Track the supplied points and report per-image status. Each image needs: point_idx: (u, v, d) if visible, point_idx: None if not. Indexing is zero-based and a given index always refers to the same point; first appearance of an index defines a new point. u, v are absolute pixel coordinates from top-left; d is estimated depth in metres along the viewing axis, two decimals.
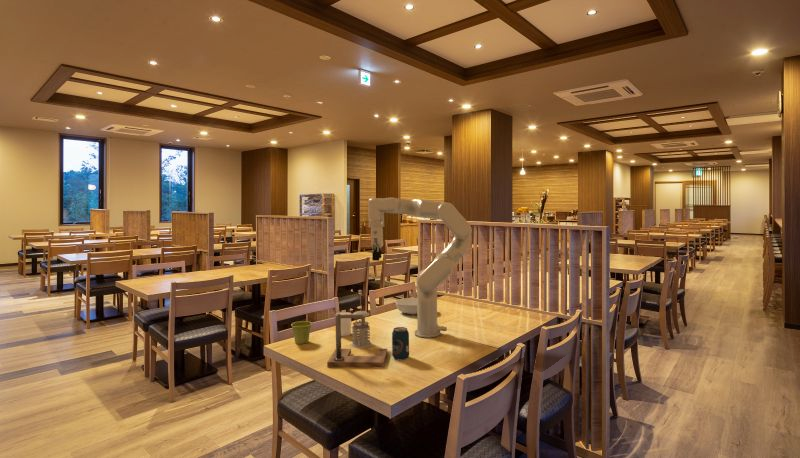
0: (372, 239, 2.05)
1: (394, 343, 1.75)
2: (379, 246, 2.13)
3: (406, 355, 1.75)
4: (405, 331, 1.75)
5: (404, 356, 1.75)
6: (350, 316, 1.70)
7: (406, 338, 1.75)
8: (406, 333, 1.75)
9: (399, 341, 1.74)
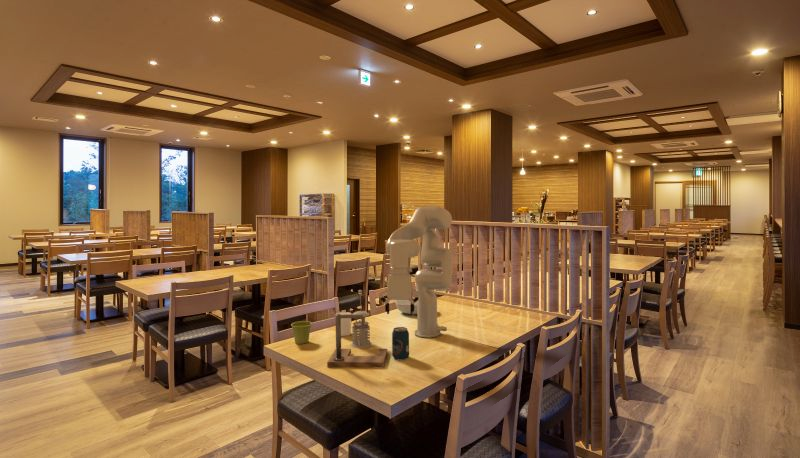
0: (411, 289, 1.75)
1: (394, 343, 1.75)
2: None
3: (406, 355, 1.75)
4: (405, 331, 1.75)
5: (404, 356, 1.75)
6: (350, 316, 1.70)
7: (406, 338, 1.75)
8: (406, 333, 1.75)
9: (399, 341, 1.74)
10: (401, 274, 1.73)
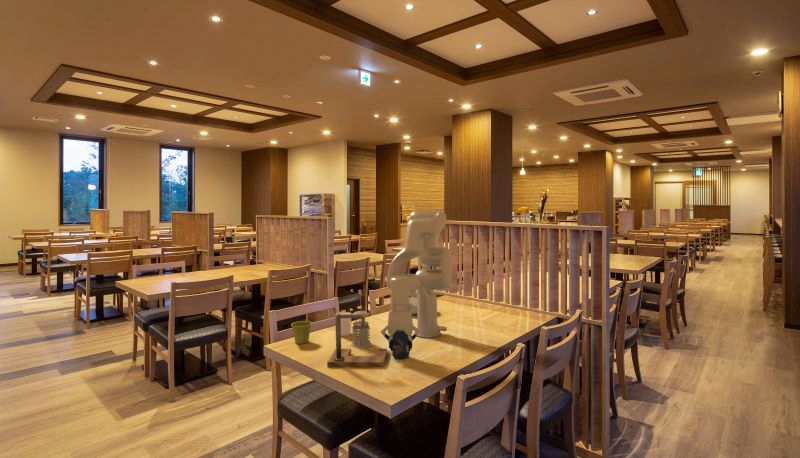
0: (412, 325, 1.76)
1: (394, 343, 1.75)
2: None
3: (406, 355, 1.75)
4: None
5: (404, 356, 1.75)
6: (350, 316, 1.70)
7: (406, 338, 1.75)
8: None
9: (399, 341, 1.74)
10: (402, 310, 1.73)
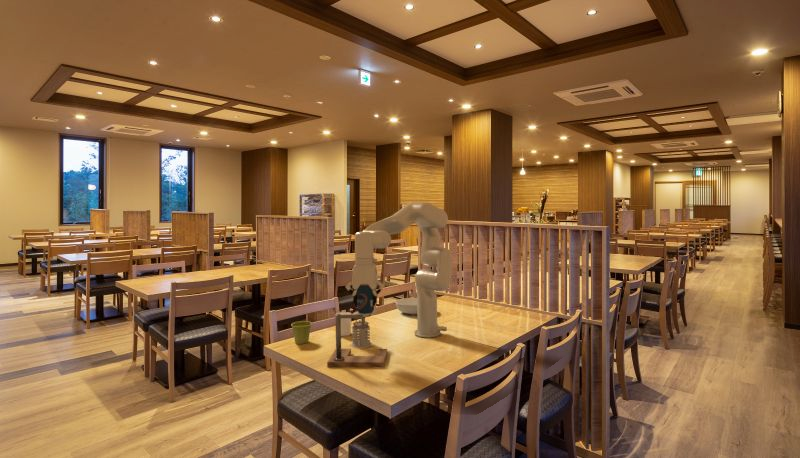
0: (376, 279, 1.76)
1: (358, 297, 1.75)
2: None
3: (370, 309, 1.76)
4: None
5: (368, 310, 1.75)
6: (350, 316, 1.70)
7: (370, 292, 1.75)
8: None
9: (363, 295, 1.74)
10: (366, 264, 1.74)
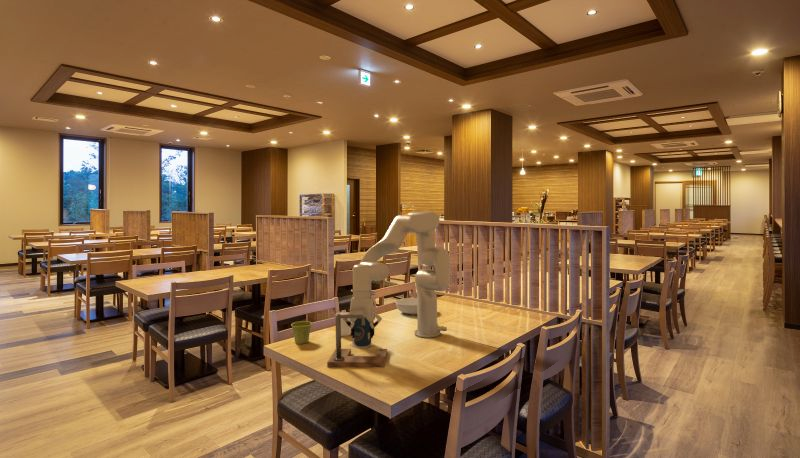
0: (373, 312, 1.77)
1: (356, 330, 1.76)
2: None
3: (368, 342, 1.76)
4: None
5: (365, 343, 1.76)
6: (350, 316, 1.70)
7: (368, 325, 1.76)
8: None
9: (361, 328, 1.75)
10: (363, 297, 1.74)
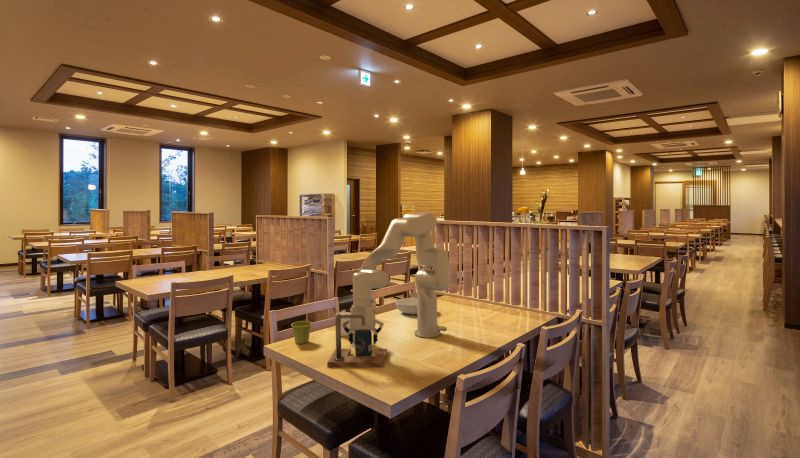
0: (374, 320, 1.77)
1: (356, 342, 1.77)
2: None
3: (368, 354, 1.77)
4: (367, 331, 1.77)
5: (366, 355, 1.76)
6: (350, 316, 1.70)
7: (368, 337, 1.77)
8: (368, 333, 1.77)
9: (361, 341, 1.76)
10: (363, 305, 1.75)
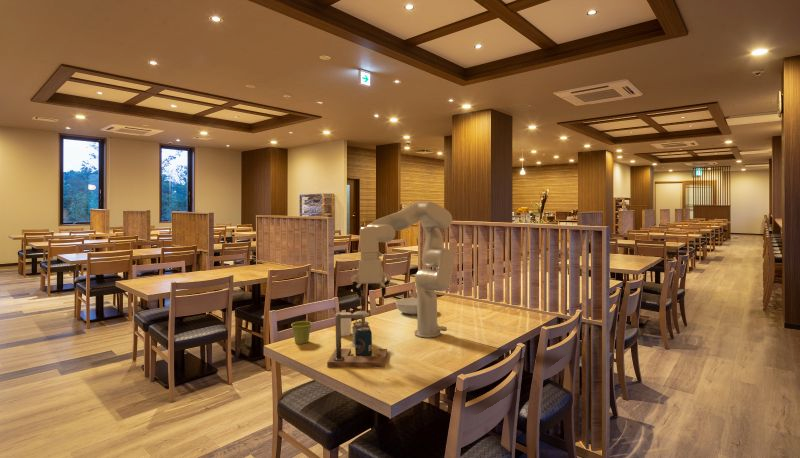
0: (381, 273, 1.79)
1: (356, 342, 1.77)
2: None
3: (368, 354, 1.77)
4: (367, 331, 1.77)
5: (366, 355, 1.76)
6: (350, 316, 1.70)
7: (368, 338, 1.77)
8: (368, 333, 1.77)
9: (361, 341, 1.76)
10: (371, 258, 1.76)
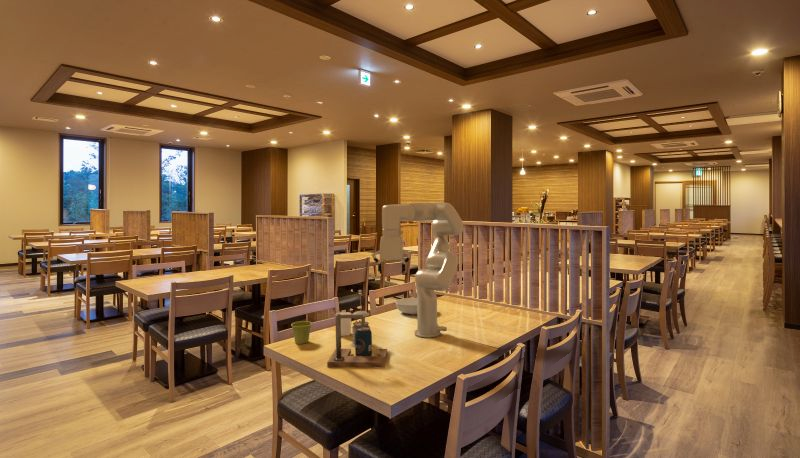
0: (402, 250, 1.85)
1: (356, 342, 1.77)
2: None
3: (368, 354, 1.77)
4: (367, 331, 1.77)
5: (366, 355, 1.76)
6: (350, 316, 1.70)
7: (368, 338, 1.77)
8: (368, 333, 1.77)
9: (361, 341, 1.76)
10: (393, 235, 1.83)
